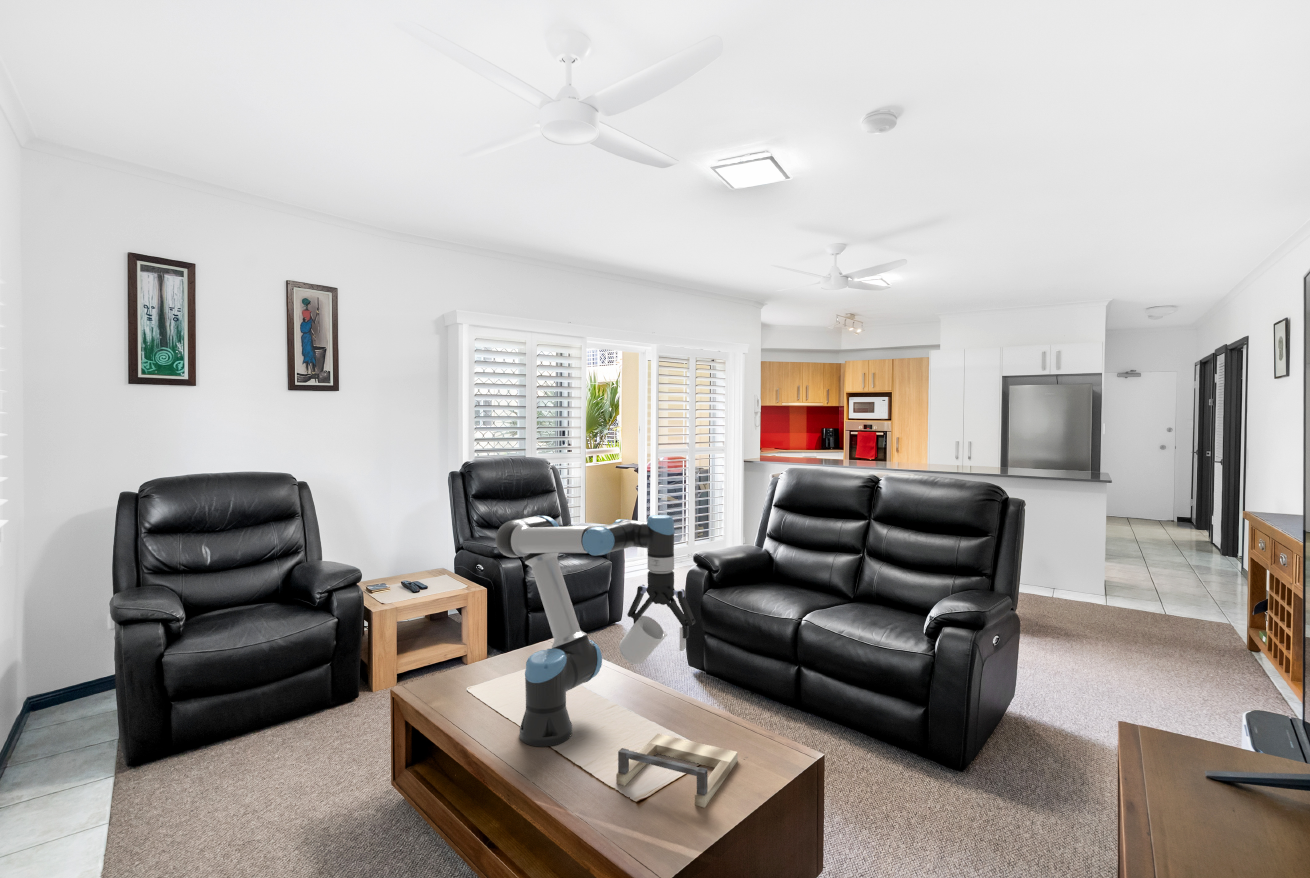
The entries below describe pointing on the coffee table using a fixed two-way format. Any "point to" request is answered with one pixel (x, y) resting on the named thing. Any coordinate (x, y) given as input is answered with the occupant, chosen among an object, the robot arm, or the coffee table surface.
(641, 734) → the coffee table surface
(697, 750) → the beige and grey frame
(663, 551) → the robot arm
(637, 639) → the mug
